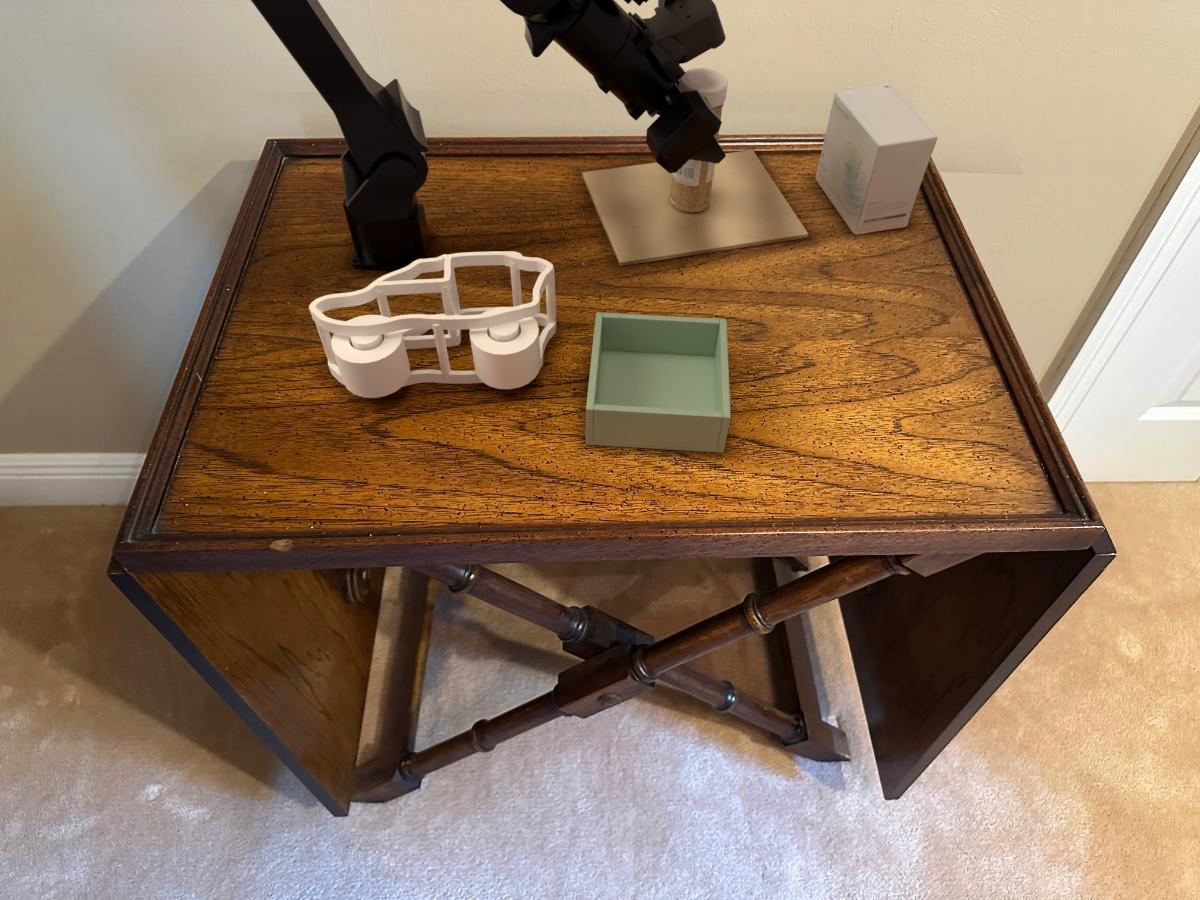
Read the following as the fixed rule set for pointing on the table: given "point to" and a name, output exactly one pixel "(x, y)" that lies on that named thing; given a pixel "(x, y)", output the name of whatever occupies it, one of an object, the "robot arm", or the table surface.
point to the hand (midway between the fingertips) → (711, 141)
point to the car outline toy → (439, 328)
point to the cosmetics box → (874, 157)
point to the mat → (660, 231)
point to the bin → (659, 383)
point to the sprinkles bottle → (694, 175)
